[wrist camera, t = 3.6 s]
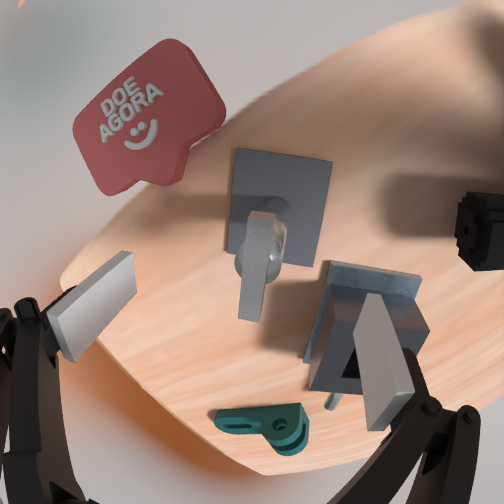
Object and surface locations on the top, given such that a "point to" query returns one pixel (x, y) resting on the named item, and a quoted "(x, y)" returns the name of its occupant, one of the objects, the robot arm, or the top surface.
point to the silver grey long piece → (261, 254)
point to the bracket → (269, 425)
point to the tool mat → (283, 185)
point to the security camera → (481, 231)
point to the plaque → (148, 119)
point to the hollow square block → (345, 319)
